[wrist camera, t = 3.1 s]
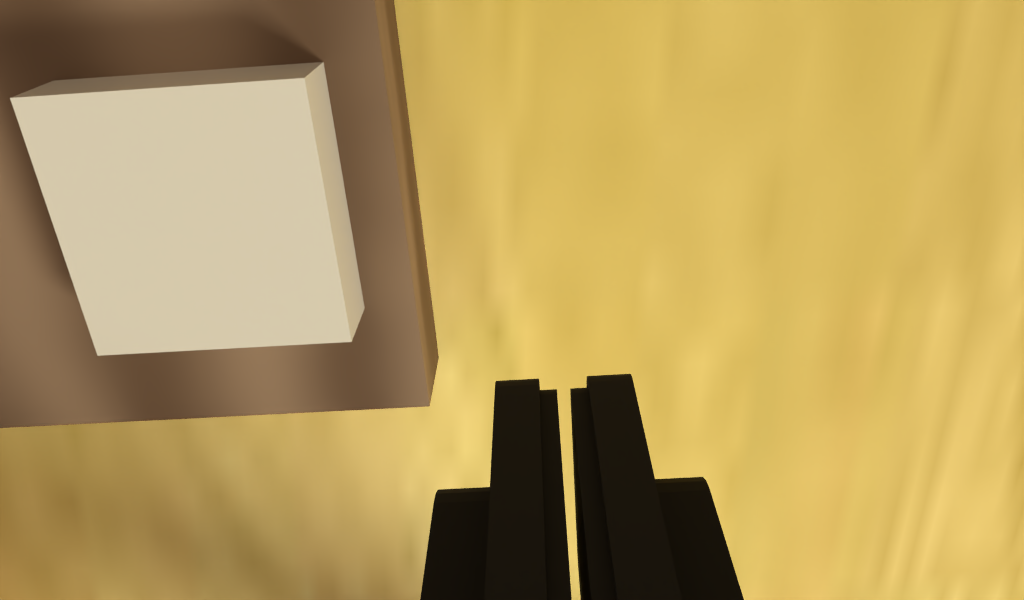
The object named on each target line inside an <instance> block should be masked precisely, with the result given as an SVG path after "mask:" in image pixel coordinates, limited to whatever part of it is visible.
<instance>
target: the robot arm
mask: <svg viewBox="0 0 1024 600" xmlns="http://www.w3.org/2000/svg"><path fill="white" fill-rule="evenodd" d="M571 415H572V438H573V461H574V484H575V507H576V530H577V552H578V569H579V582H580V594H581V600H744V599H743V596H742V592H741V589H740V586H739V583H738V580H737V576H736V573H735V570H734V567H733V563H732V560H731V557H730V554H729V550H728V547H727V544H726V541H725V537H724V534H723V531H722V528H721V525H720V521H719V518H718V515H717V512H716V508H715V505H714V502H713V499H712V495H711V492H710V489H709V487H708V484H707V482H706V480H705V479H704V478H703V477H693V478H672V479H655V478H654V473H653V469H652V464H651V460H650V455H649V451H648V446H647V442H646V438H645V433H644V429H643V424H642V420H641V415H640V411H639V406H638V402H637V397H636V393H635V388H634V384H633V379H632V376H631V374H620V375H601V376H587V388H575V389H571ZM420 600H571V586H570V572H569V558H568V543H567V529H566V515H565V501H564V486H563V472H562V458H561V444H560V430H559V415H558V401H557V389H556V390H540V386H539V379H525V380H507V381H496V383H495V400H494V420H493V440H492V460H491V479H490V487H485V488H464V489H443V490H438V491H437V492H436V495H435V500H434V506H433V513H432V520H431V528H430V535H429V542H428V549H427V556H426V564H425V571H424V578H423V585H422V592H421V599H420Z"/></svg>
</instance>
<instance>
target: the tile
mask: <svg viewBox="0 0 1024 600" xmlns="http://www.w3.org/2000/svg"><path fill="white" fill-rule="evenodd" d="M10 100H11V103H12V106H13V108H14V111H15V114H16V117H17V120H18V123H19V126H20V129H21V132H22V135H23V138H24V141H25V144H26V147H27V150H28V153H29V156H30V158H31V161H32V164H33V167H34V170H35V173H36V176H37V179H38V182H39V185H40V188H41V191H42V194H43V197H44V200H45V203H46V206H47V209H48V211H49V214H50V217H51V220H52V223H53V226H54V229H55V232H56V235H57V238H58V241H59V244H60V247H61V250H62V253H63V256H64V259H65V262H66V264H67V267H68V270H69V273H70V276H71V279H72V282H73V285H74V288H75V291H76V294H77V297H78V300H79V303H80V306H81V309H82V312H83V315H84V317H85V320H86V323H87V326H88V329H89V332H90V335H91V338H92V341H93V344H94V347H95V350H96V353H97V356H101V355H120V354H138V353H157V352H175V351H194V350H212V349H230V348H249V347H267V346H286V345H304V344H323V343H341V342H352V340H353V337H354V334H355V332H356V329H357V327H358V324H359V321H360V319H361V316H362V314H363V311H364V308H365V307H364V302H363V296H362V290H361V284H360V278H359V272H358V266H357V260H356V254H355V248H354V242H353V236H352V230H351V224H350V218H349V212H348V206H347V200H346V194H345V188H344V182H343V176H342V170H341V164H340V158H339V152H338V146H337V140H336V134H335V128H334V122H333V116H332V110H331V104H330V98H329V92H328V86H327V80H326V74H325V68H324V62H315V63H301V64H286V65H271V66H257V67H242V68H228V69H213V70H199V71H184V72H170V73H155V74H141V75H126V76H112V77H97V78H83V79H68V80H54V81H51V82H49V83H46V84H44V85H41V86H39V87H36V88H34V89H31V90H29V91H26V92H24V93H21V94H19V95H16V96H14V97H11V98H10Z"/></svg>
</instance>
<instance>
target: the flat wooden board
mask: <svg viewBox="0 0 1024 600" xmlns="http://www.w3.org/2000/svg"><path fill="white" fill-rule="evenodd" d="M315 62H324V68H325V74H326V80H327V86H328V92H329V98H330V104H331V110H332V116H333V122H334V128H335V134H336V140H337V146H338V152H339V158H340V164H341V170H342V176H343V182H344V188H345V194H346V200H347V206H348V212H349V218H350V224H351V230H352V236H353V242H354V248H355V254H356V260H357V266H358V272H359V278H360V284H361V290H362V296H363V302H364V307H365V308H364V311H363V314H362V316H361V319H360V321H359V324H358V327H357V329H356V332H355V334H354V337H353V340H352V342H341V343H323V344H304V345H286V346H267V347H249V348H230V349H212V350H194V351H175V352H157V353H138V354H120V355H101V356H97V353H96V350H95V347H94V344H93V341H92V338H91V335H90V332H89V329H88V326H87V323H86V320H85V317H84V315H83V312H82V309H81V306H80V303H79V300H78V297H77V294H76V291H75V288H74V285H73V282H72V279H71V276H70V273H69V270H68V267H67V264H66V262H65V259H64V256H63V253H62V250H61V247H60V244H59V241H58V238H57V235H56V232H55V229H54V226H53V223H52V220H51V217H50V214H49V211H48V209H47V206H46V203H45V200H44V197H43V194H42V191H41V188H40V185H39V182H38V179H37V176H36V173H35V170H34V167H33V164H32V161H31V158H30V156H29V153H28V150H27V147H26V144H25V141H24V138H23V135H22V132H21V129H20V126H19V123H18V120H17V117H16V114H15V111H14V108H13V106H12V103H11V100H10V98H11V97H14V96H16V95H19V94H21V93H24V92H26V91H29V90H31V89H34V88H36V87H39V86H41V85H44V84H46V83H49V82H51V81H54V80H68V79H83V78H97V77H112V76H126V75H141V74H155V73H170V72H184V71H199V70H213V69H228V68H242V67H257V66H271V65H286V64H301V63H315ZM438 357H439V356H438V348H437V340H436V332H435V324H434V316H433V309H432V301H431V293H430V285H429V277H428V269H427V261H426V253H425V245H424V237H423V229H422V221H421V213H420V205H419V197H418V189H417V181H416V173H415V165H414V157H413V149H412V142H411V134H410V126H409V118H408V110H407V102H406V94H405V86H404V78H403V70H402V62H401V54H400V46H399V38H398V30H397V22H396V14H395V6H394V0H0V428H9V427H29V426H48V425H68V424H88V423H108V422H127V421H147V420H167V419H187V418H207V417H226V416H246V415H266V414H286V413H305V412H325V411H345V410H365V409H385V408H404V407H424V406H430V401H431V395H432V390H433V385H434V379H435V374H436V368H437V363H438Z"/></svg>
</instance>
